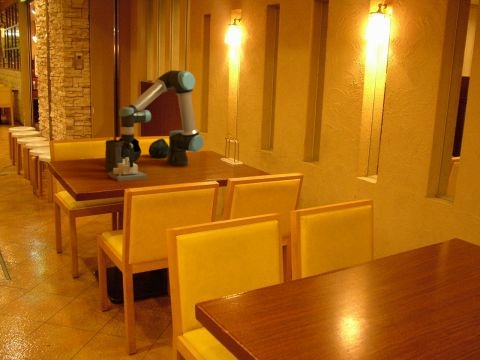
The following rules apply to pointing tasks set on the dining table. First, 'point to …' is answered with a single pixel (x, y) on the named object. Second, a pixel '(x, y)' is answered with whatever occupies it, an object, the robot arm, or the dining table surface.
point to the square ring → (125, 169)
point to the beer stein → (113, 154)
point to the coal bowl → (135, 149)
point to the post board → (127, 176)
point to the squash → (159, 149)
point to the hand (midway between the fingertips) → (127, 170)
